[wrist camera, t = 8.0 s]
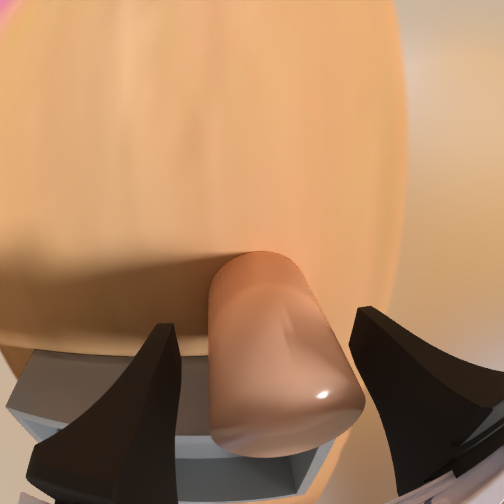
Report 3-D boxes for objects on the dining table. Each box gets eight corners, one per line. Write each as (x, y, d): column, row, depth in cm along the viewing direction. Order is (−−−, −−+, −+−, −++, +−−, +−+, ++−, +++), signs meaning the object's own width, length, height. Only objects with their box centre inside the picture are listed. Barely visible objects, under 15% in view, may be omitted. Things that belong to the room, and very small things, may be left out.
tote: (105, 449, 19) (98, 492, 15) (34, 349, 14) (5, 406, 9) (293, 448, 21) (304, 494, 17) (316, 345, 15) (346, 417, 11)
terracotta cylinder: (250, 346, 15) (271, 466, 8) (188, 293, 13) (174, 428, 7) (323, 297, 14) (383, 411, 8) (267, 230, 12) (320, 350, 6)
